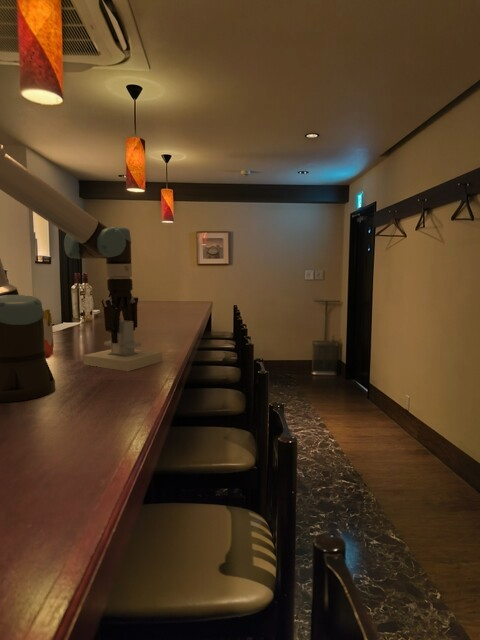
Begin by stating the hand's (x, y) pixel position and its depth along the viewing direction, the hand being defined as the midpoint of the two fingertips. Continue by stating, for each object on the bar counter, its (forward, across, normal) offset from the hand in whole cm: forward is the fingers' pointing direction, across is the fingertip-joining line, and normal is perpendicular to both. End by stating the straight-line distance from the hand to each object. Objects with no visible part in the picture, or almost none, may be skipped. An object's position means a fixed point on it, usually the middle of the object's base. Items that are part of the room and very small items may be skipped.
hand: (122, 351), depth 134 cm
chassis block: (+4, 0, 0) cm, 4 cm away
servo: (+1, 0, 0) cm, 1 cm away
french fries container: (+4, -4, +34) cm, 34 cm away
